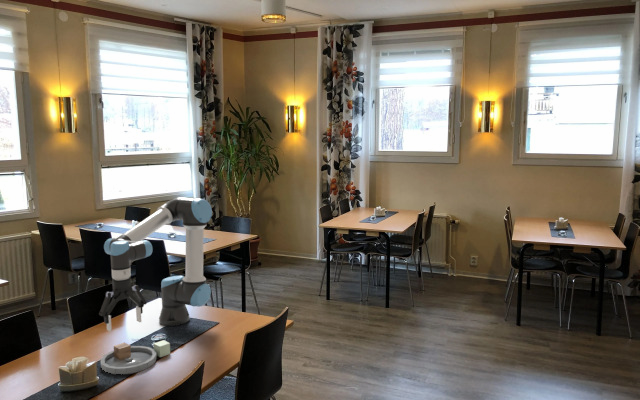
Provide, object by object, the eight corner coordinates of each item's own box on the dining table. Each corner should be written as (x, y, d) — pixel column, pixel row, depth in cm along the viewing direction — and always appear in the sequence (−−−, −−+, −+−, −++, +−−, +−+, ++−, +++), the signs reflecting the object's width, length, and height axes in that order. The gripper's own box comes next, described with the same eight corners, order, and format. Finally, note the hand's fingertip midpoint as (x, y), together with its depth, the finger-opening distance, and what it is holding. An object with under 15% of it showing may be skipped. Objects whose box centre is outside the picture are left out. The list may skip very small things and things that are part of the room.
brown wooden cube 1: (114, 357, 225) (113, 345, 224) (125, 353, 228) (124, 342, 228) (120, 360, 222) (119, 349, 221) (131, 356, 225) (130, 345, 225)
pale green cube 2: (154, 354, 230) (153, 343, 229) (164, 350, 234) (163, 340, 233) (160, 357, 227) (159, 346, 226) (170, 353, 230) (169, 343, 230)
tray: (91, 363, 220) (91, 357, 220) (139, 347, 237) (138, 341, 237) (117, 379, 206) (117, 373, 206) (166, 361, 223) (166, 355, 222)
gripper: (96, 286, 209) (100, 336, 212) (152, 273, 228) (155, 319, 231) (88, 282, 214) (91, 332, 217) (143, 270, 233) (146, 315, 235)
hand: (124, 325), depth 224 cm, fingers open, 13 cm apart
